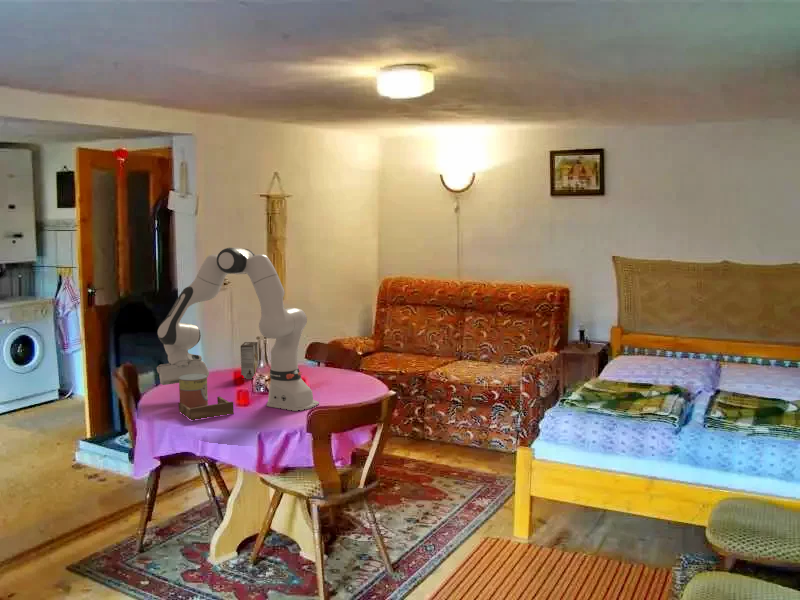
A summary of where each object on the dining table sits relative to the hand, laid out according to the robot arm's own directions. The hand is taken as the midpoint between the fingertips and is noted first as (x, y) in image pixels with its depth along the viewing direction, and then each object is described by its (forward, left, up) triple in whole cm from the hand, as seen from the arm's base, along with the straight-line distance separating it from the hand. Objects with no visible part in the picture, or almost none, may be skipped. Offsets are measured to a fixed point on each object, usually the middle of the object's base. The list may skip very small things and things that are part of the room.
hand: (188, 389), depth 317 cm
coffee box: (+16, -44, -5) cm, 47 cm away
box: (-19, +5, -5) cm, 21 cm away
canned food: (-6, +2, -5) cm, 8 cm away
